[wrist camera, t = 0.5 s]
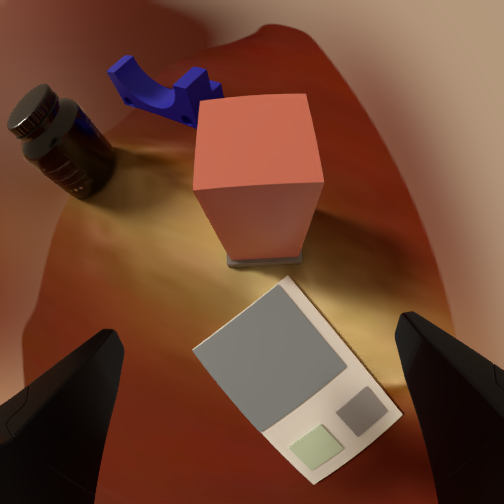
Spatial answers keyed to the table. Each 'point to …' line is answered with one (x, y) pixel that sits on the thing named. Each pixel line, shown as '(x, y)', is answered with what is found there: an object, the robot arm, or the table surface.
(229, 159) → the salmon block on plinth
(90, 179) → the supplement bottle
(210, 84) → the blue cradle bracket
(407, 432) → the table surface
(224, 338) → the panel board
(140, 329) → the table surface
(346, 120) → the table surface
